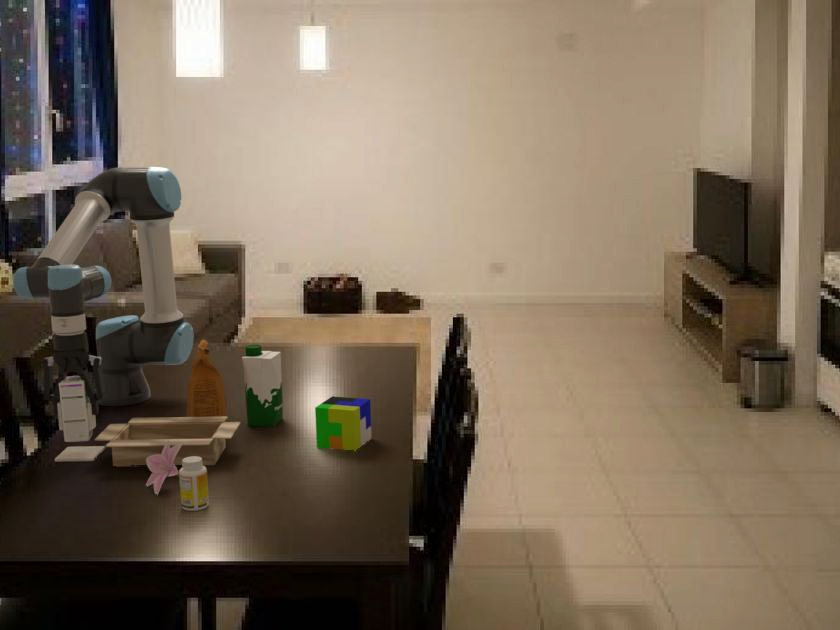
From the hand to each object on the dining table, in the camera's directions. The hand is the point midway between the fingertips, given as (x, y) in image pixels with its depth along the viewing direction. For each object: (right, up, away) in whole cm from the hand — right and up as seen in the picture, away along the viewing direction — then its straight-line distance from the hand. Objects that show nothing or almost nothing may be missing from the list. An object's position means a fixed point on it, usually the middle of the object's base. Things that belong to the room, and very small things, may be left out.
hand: (77, 428), depth 249 cm
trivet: (0, -7, +1) cm, 7 cm away
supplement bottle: (+35, -13, -33) cm, 49 cm away
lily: (+26, -11, -21) cm, 35 cm away
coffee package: (+26, -2, +21) cm, 34 cm away
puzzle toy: (+62, -5, +6) cm, 63 cm away
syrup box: (0, -3, 0) cm, 3 cm away
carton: (+22, -7, -1) cm, 23 cm away
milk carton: (+41, -1, +24) cm, 47 cm away
